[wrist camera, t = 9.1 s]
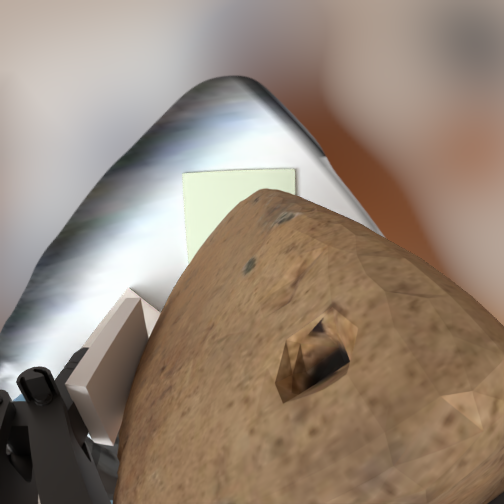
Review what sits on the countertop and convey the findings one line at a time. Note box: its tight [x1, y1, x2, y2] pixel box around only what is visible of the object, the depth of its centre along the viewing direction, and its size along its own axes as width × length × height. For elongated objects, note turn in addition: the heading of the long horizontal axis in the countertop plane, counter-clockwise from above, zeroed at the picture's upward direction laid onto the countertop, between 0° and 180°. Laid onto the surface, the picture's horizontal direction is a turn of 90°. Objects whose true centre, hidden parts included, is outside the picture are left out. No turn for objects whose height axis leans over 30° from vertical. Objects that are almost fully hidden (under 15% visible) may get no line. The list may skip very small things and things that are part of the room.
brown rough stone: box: [113, 188, 504, 504], centre depth 12 cm, size 11×8×20 cm
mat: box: [182, 169, 295, 264], centre depth 38 cm, size 14×14×1 cm
